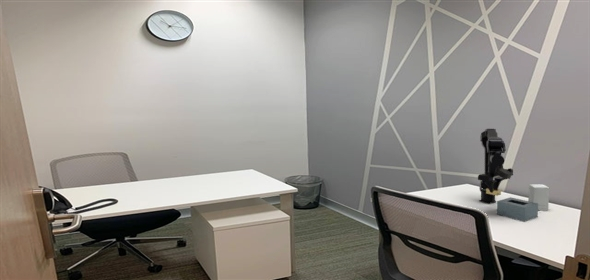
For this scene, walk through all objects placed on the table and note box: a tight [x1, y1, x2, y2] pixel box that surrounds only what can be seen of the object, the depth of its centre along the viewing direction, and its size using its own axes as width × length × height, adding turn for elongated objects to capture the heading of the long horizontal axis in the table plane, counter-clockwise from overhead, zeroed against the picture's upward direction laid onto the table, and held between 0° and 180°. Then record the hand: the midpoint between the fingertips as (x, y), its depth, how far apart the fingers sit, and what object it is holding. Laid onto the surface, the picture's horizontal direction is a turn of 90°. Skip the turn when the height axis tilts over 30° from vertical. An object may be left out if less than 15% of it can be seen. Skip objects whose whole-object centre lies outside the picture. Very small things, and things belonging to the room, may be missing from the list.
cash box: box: [496, 196, 539, 222], centre depth 194 cm, size 14×12×7 cm
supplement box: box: [527, 183, 550, 212], centre depth 204 cm, size 7×7×13 cm
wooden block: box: [486, 188, 502, 197], centre depth 199 cm, size 6×3×2 cm, turn 29°
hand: (493, 192), depth 199 cm, fingers closed on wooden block, 3 cm apart
